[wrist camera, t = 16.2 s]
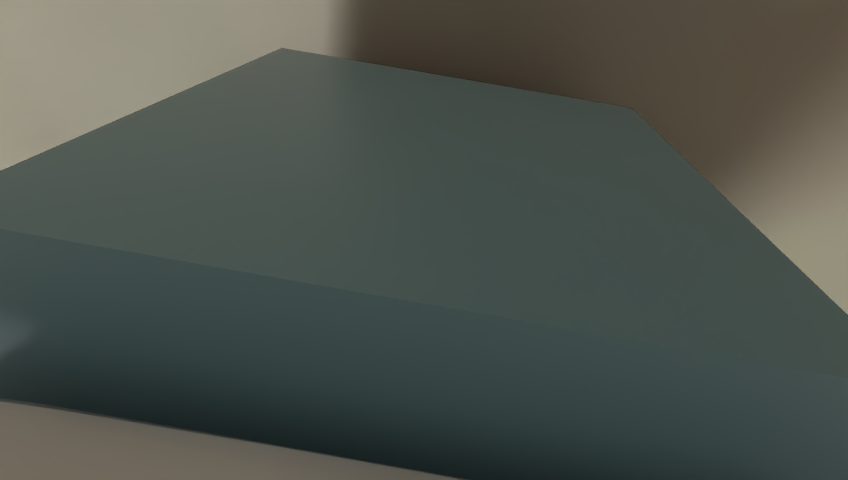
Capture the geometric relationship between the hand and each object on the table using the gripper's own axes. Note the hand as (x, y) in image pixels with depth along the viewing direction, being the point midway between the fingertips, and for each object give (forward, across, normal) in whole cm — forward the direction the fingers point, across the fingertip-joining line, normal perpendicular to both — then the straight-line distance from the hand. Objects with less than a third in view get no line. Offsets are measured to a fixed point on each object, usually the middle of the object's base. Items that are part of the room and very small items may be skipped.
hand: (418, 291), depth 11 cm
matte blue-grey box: (+3, 0, 0) cm, 3 cm away
